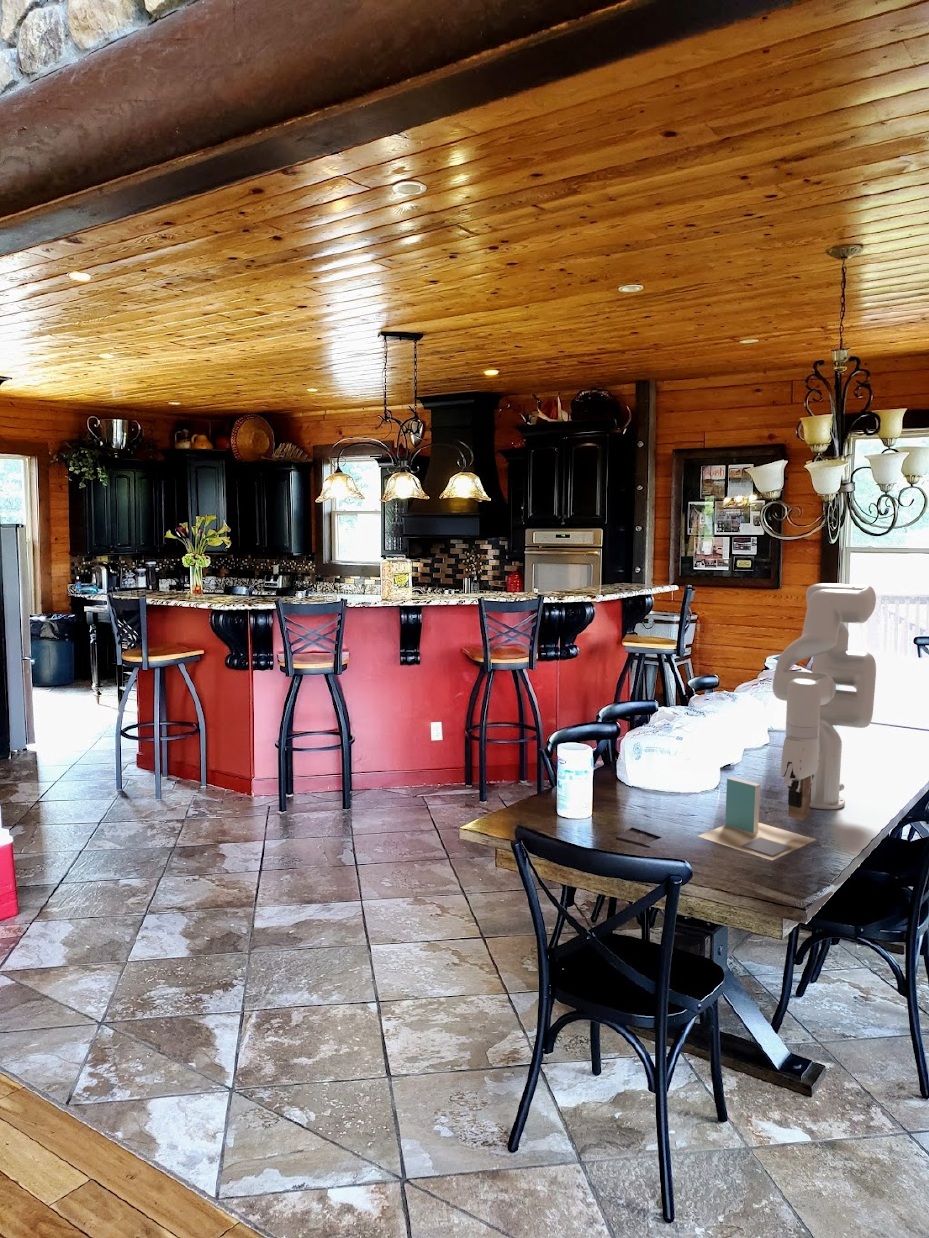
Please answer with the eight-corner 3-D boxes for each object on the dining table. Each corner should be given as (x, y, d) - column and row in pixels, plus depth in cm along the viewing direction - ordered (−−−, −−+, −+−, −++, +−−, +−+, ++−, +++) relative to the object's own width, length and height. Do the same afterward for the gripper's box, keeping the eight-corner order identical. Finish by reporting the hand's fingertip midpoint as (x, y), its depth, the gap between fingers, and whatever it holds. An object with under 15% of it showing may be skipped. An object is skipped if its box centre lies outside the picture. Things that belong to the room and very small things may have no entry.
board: (742, 822, 233) (742, 817, 233) (816, 844, 218) (816, 839, 218) (696, 840, 220) (696, 836, 220) (771, 865, 205) (772, 860, 205)
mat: (760, 838, 218) (760, 837, 218) (791, 848, 212) (791, 846, 212) (741, 846, 213) (741, 845, 213) (772, 856, 207) (772, 855, 207)
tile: (729, 823, 229) (731, 776, 228) (758, 831, 223) (760, 784, 222) (724, 824, 228) (726, 778, 226) (753, 833, 222) (755, 785, 220)
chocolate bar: (616, 836, 222) (650, 817, 236) (615, 840, 222) (650, 820, 236) (649, 845, 216) (682, 824, 230) (649, 849, 216) (682, 828, 230)
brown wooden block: (795, 812, 223) (797, 765, 221) (809, 816, 220) (811, 768, 218) (788, 816, 221) (790, 768, 219) (801, 820, 218) (803, 772, 216)
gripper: (805, 720, 225) (802, 791, 228) (769, 734, 214) (766, 808, 217) (834, 727, 219) (831, 799, 222) (799, 741, 209) (795, 817, 212)
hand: (799, 803), depth 220 cm, fingers closed on brown wooden block, 3 cm apart
